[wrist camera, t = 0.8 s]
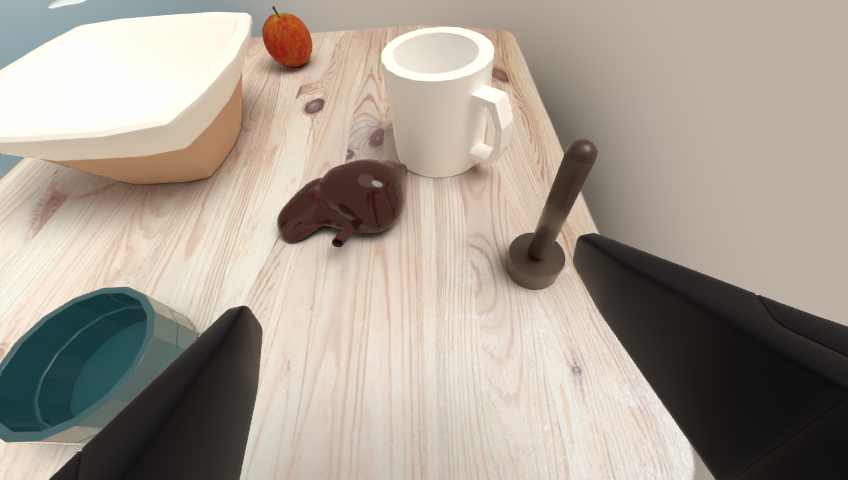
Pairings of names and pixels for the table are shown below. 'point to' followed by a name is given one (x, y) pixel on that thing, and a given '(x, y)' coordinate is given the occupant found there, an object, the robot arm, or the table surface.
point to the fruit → (287, 39)
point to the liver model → (347, 201)
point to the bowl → (131, 97)
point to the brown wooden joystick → (551, 222)
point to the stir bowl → (86, 365)
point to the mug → (444, 100)
